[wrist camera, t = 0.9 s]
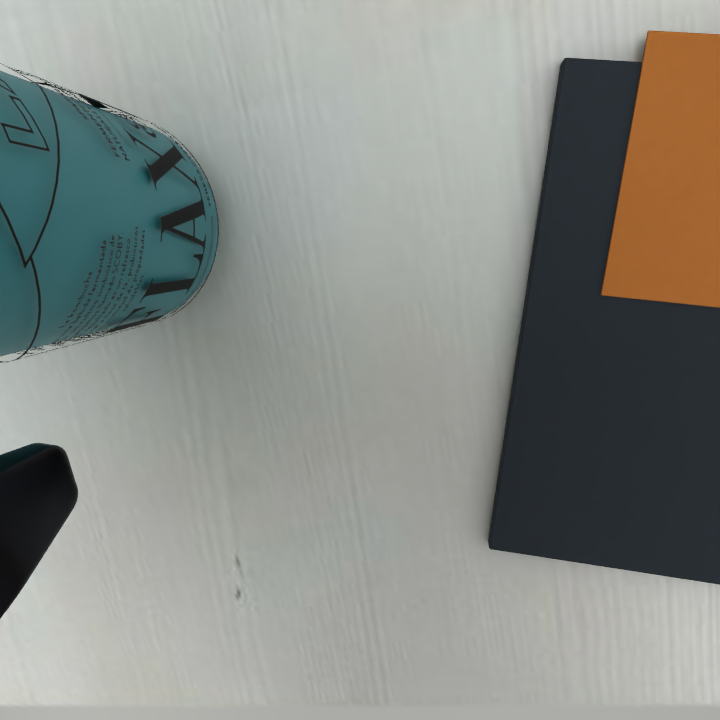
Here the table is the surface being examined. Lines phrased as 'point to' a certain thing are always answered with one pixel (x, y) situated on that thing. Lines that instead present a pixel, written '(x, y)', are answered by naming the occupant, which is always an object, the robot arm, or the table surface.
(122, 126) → the beverage bottle
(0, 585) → the robot arm
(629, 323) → the pad
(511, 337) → the table surface
